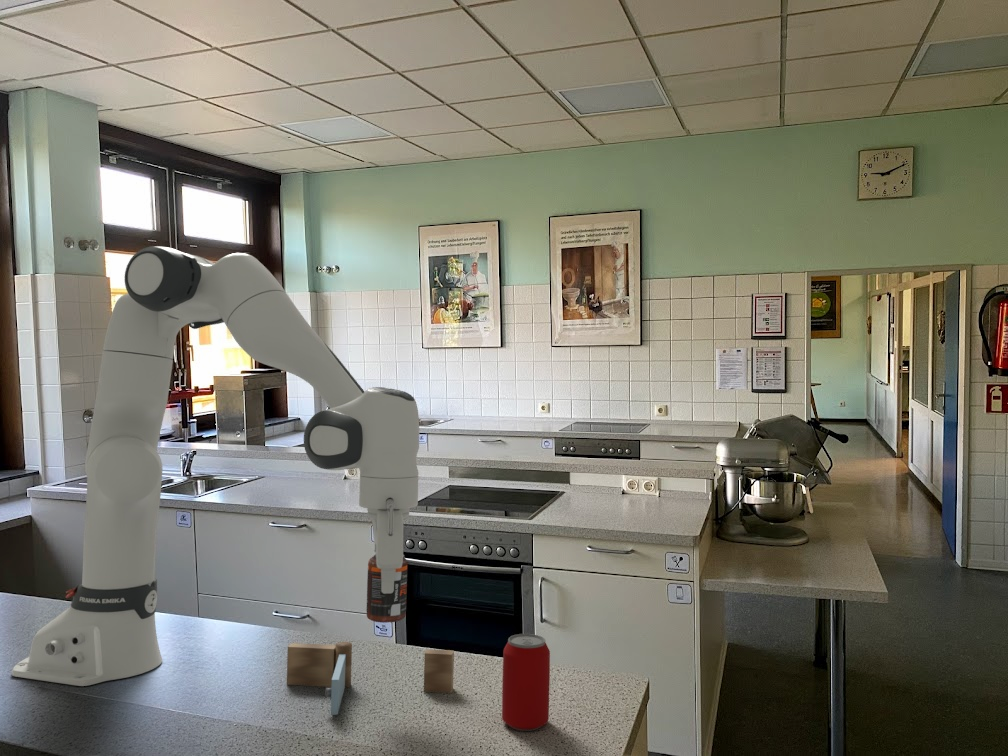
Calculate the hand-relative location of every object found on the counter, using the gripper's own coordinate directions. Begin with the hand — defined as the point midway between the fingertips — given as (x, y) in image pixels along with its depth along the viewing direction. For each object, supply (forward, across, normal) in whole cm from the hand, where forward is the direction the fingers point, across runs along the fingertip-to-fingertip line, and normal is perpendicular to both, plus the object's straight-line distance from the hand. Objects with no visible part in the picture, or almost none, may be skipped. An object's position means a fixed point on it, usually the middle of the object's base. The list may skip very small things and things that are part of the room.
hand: (386, 586), depth 117 cm
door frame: (+18, +8, +2) cm, 20 cm away
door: (+17, +2, +7) cm, 19 cm away
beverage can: (+18, -9, -20) cm, 28 cm away
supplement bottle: (+5, 0, 0) cm, 5 cm away
